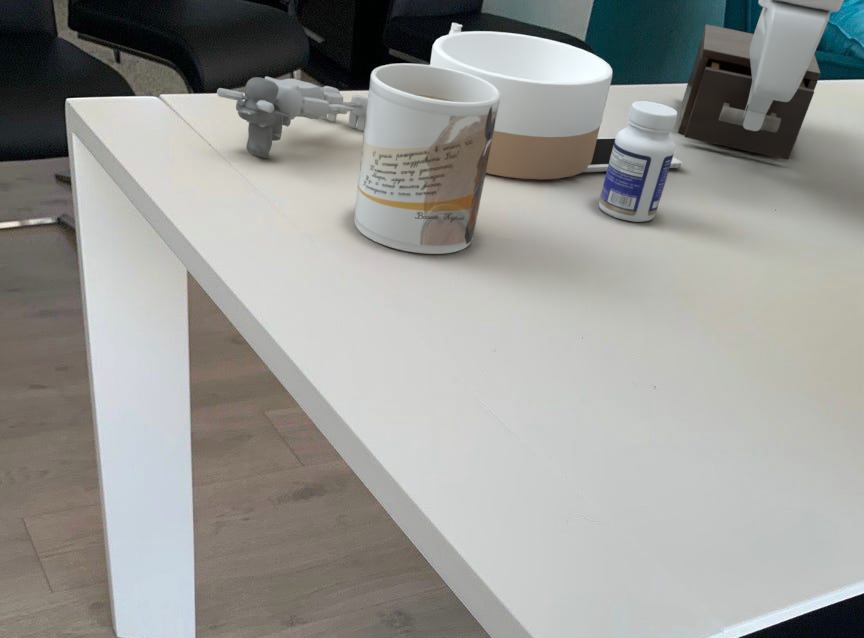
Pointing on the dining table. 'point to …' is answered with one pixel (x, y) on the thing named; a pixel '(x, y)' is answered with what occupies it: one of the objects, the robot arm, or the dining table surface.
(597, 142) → the cell phone
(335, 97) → the figurine
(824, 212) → the dining table surface
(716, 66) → the drawer
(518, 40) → the bowl
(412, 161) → the mug
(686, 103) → the cabinet
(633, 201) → the pill bottle
